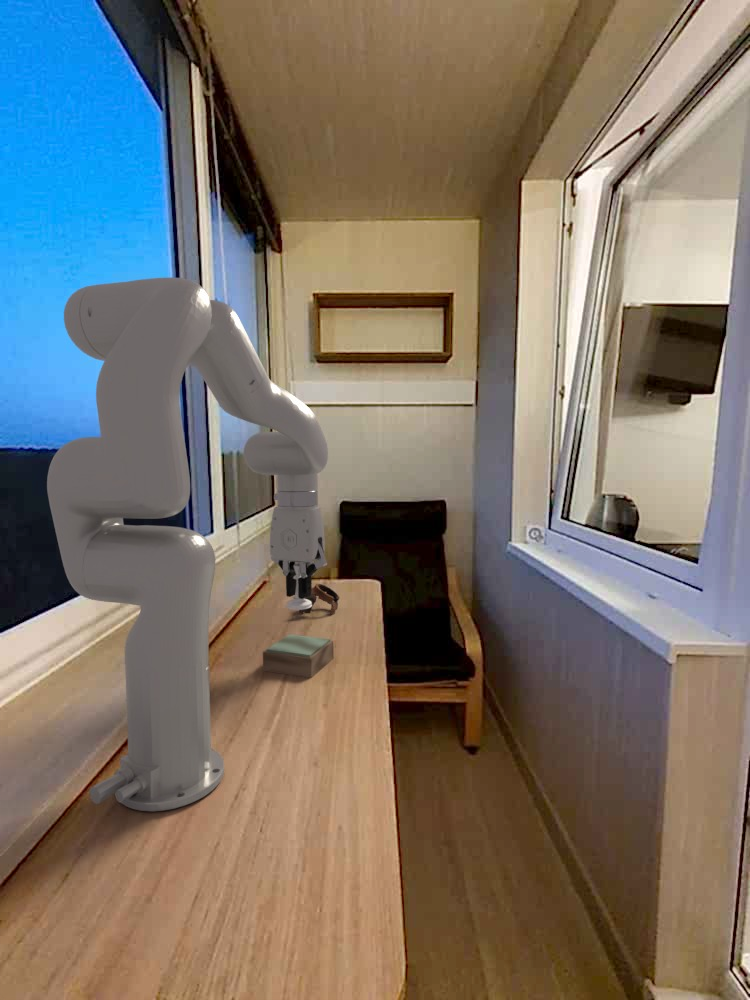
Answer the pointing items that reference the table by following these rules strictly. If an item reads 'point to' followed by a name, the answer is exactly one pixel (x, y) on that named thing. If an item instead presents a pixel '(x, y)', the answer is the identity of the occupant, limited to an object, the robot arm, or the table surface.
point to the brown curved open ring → (322, 597)
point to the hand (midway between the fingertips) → (298, 595)
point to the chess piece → (297, 602)
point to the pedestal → (298, 655)
